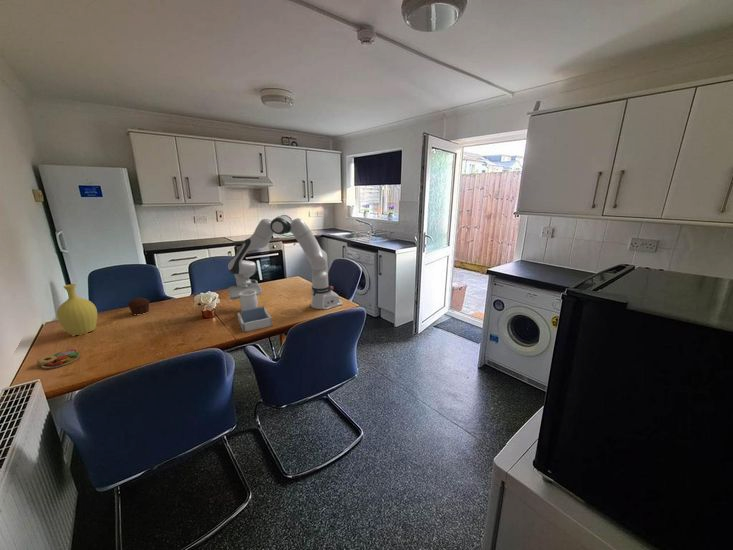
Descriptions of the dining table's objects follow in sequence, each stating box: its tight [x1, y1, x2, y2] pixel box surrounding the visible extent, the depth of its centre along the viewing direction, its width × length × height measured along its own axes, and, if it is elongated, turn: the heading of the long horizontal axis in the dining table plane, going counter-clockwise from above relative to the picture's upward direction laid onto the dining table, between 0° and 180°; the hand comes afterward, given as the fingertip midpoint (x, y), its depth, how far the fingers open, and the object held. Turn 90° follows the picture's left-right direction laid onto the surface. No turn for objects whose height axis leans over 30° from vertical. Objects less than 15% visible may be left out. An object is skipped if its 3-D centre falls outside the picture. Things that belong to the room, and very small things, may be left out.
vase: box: [56, 283, 98, 336], centre depth 163 cm, size 16×16×28 cm
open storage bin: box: [237, 307, 273, 333], centre depth 178 cm, size 16×19×5 cm
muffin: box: [127, 297, 151, 315], centre depth 192 cm, size 12×11×10 cm
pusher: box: [240, 305, 265, 323], centre depth 180 cm, size 13×2×8 cm, turn 121°
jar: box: [239, 290, 258, 310], centre depth 190 cm, size 11×10×15 cm
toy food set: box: [36, 349, 80, 370], centre depth 138 cm, size 13×13×3 cm
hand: (248, 302), depth 195 cm, fingers closed
